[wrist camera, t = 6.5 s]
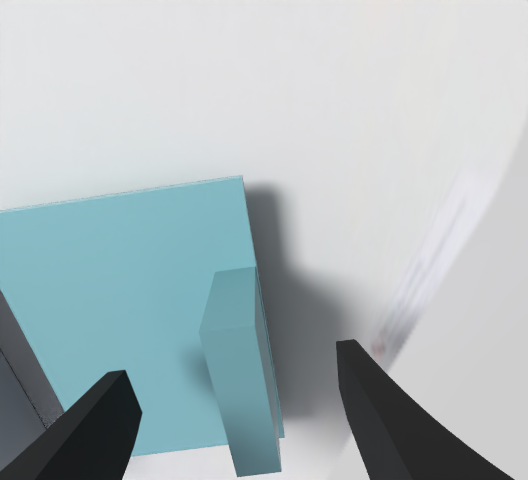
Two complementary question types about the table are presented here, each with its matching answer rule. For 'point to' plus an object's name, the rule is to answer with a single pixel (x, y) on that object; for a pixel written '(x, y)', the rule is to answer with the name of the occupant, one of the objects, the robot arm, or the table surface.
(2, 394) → the parts tub
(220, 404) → the lid
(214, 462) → the table surface
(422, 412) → the robot arm
